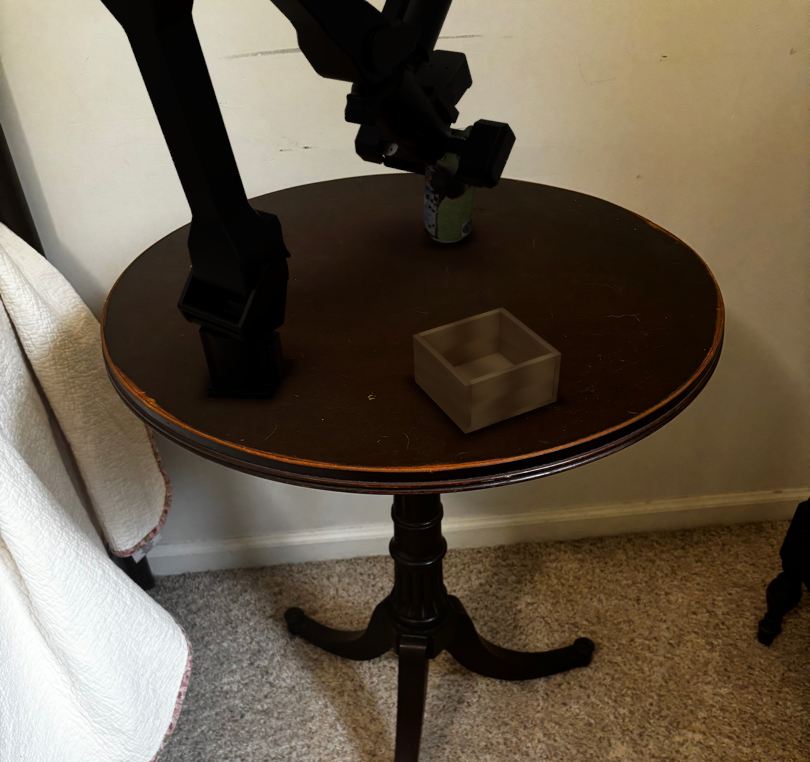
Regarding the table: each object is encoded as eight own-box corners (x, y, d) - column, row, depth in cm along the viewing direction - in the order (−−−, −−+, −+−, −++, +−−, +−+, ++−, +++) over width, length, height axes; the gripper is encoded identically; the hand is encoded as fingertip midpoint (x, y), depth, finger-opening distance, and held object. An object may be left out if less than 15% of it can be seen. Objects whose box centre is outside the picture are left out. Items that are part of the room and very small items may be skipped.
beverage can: (442, 223, 103) (436, 123, 95) (490, 233, 100) (488, 130, 91) (412, 241, 100) (404, 139, 92) (461, 253, 96) (457, 148, 88)
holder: (465, 434, 71) (465, 386, 68) (414, 381, 78) (412, 334, 74) (556, 401, 74) (561, 353, 71) (500, 353, 81) (502, 306, 77)
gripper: (509, 37, 77) (557, 125, 90) (359, 19, 85) (424, 102, 99) (464, 150, 78) (518, 219, 92) (321, 121, 86) (390, 189, 100)
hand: (461, 179), depth 96 cm, fingers closed on beverage can, 6 cm apart
